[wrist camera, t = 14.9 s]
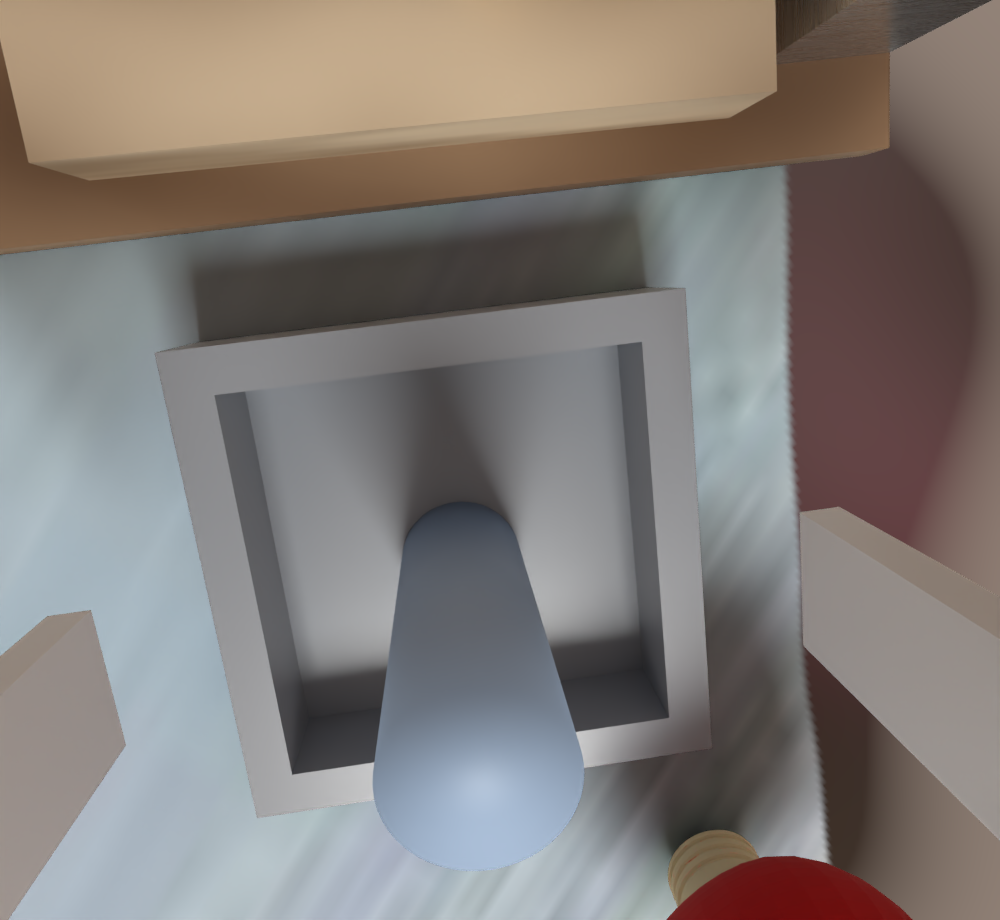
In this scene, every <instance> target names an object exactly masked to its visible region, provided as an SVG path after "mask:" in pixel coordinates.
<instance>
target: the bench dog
mask: <svg viewBox="0 0 1000 920" xmlns="http://www.w3.org/2000/svg"><path fill="white" fill-rule="evenodd" d="M989 1H991V0H775V10H776V64H777V65H778V64H787V63H796V62H806V61H815V60H824V59H833V58H843V57H852V56H861V55H871V54H880V53H889V52H891V51H893V50H895V49H897V48H899V47H901V46H903V45H905V44H907V43H909V42H911V41H913V40H915V39H917V38H919V37H921V36H923V35H925V34H927V33H928V32H931V31H932V30H934V29H936V28H939V27H941V26H942V25H944V24H946V23H948V22H950V21H952V20H954V19H956V18H958V17H960V16H962V15H964V14H966V13H968V12H970V11H972V10H974V9H976V8H978V7H980V6H982V5H984V4H986V3H987V2H989Z"/></svg>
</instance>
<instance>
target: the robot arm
mask: <svg viewBox="0 0 1000 920" xmlns="http://www.w3.org/2000/svg"><path fill="white" fill-rule="evenodd" d="M800 538H801V577H802V615H803V646H804V647H805V648H806V649H807V650H808V651H809V652H810V653H811V654H812V655H813V656H814V657H815V658H816V659H817V660H818V661H819V662H820V663H821V664H822V665H823V666H824V667H825V668H826V669H827V670H828V671H829V672H831V674H832V675H834V677H835V678H837V680H838V681H840V683H841V684H842V685H843V686H844V687H846V688H847V689H848V690H849V691H850V692H851V693H852V694H853V695H854V696H855V697H856V698H857V699H858V700H859V701H860V702H861V703H862V704H863V705H864V706H865V707H866V708H867V709H868V710H869V711H870V712H871V713H872V714H873V715H874V716H875V717H876V718H877V719H878V720H879V721H880V722H881V723H882V724H883V725H884V726H885V727H886V728H887V729H888V730H889V731H890V732H891V733H892V734H893V735H894V736H895V737H896V738H897V739H898V740H899V741H900V742H901V743H902V744H903V745H904V746H905V747H906V748H907V749H908V750H909V751H910V752H911V753H912V754H913V755H914V756H915V757H916V758H917V759H918V760H919V761H920V762H921V763H922V764H923V765H924V766H925V767H926V768H927V769H928V770H929V771H930V772H931V773H932V774H933V775H935V777H936V778H937V779H938V780H939V781H940V782H941V783H942V784H943V785H944V786H945V787H946V788H947V789H948V790H949V791H950V792H951V793H952V794H953V795H954V796H955V797H956V798H957V799H958V800H959V801H960V802H961V803H962V804H963V805H964V806H965V807H966V808H967V809H968V810H969V811H971V813H973V814H974V816H975V817H976V818H977V819H979V821H981V823H982V824H984V825H985V826H986V827H987V828H988V829H989V830H990V831H991V832H992V833H993V834H994V835H995V836H996V837H997V838H998V839H999V840H1000V597H999V596H998V595H996V594H994V593H992V592H991V591H989V590H987V589H985V588H983V587H982V586H980V585H978V584H976V583H974V582H973V581H971V580H969V579H967V578H966V577H964V576H962V575H960V574H958V573H957V572H955V571H953V570H951V569H949V568H947V567H946V566H944V565H942V564H940V563H939V562H937V561H935V560H933V559H931V558H930V557H928V556H926V555H924V554H923V553H921V552H919V551H917V550H915V549H914V548H912V547H910V546H908V545H906V544H905V543H903V542H901V541H899V540H897V539H896V538H894V537H892V536H890V535H889V534H886V533H885V532H883V531H881V530H880V529H878V528H876V527H874V526H872V525H871V524H869V523H867V522H865V521H863V520H862V519H860V518H858V517H856V516H854V515H853V514H851V513H849V512H847V511H846V510H844V509H842V508H840V507H836V508H828V509H821V510H814V511H806V512H800ZM125 746H126V744H125V740H124V736H123V732H122V728H121V724H120V721H119V717H118V713H117V709H116V705H115V701H114V698H113V694H112V690H111V686H110V682H109V678H108V674H107V671H106V667H105V663H104V659H103V655H102V651H101V648H100V644H99V640H98V636H97V632H96V628H95V625H94V621H93V617H92V613H91V610H89V611H82V612H74V613H67V614H60V615H53V616H47V617H46V618H45V619H43V620H42V621H41V622H40V623H39V624H38V625H36V626H35V627H34V628H33V629H32V630H31V631H29V632H28V633H27V634H26V635H25V636H24V637H22V638H21V639H20V640H19V641H18V642H17V643H15V644H14V645H13V646H12V647H11V648H10V649H8V650H7V651H6V652H5V653H4V654H3V655H1V656H0V920H8V919H9V918H10V916H11V915H12V913H13V912H14V910H15V909H16V907H17V906H18V904H19V903H20V901H21V900H22V899H23V897H24V896H25V894H26V893H27V891H28V890H29V888H30V887H31V885H32V884H33V882H34V881H35V879H36V878H37V876H38V875H39V873H40V872H41V870H42V869H43V867H44V866H45V864H46V863H47V861H48V860H49V858H50V857H51V856H52V854H53V853H54V851H55V850H56V848H57V847H58V845H59V844H60V842H61V841H62V839H63V838H64V836H65V835H66V833H67V832H68V830H69V829H70V827H71V826H72V824H73V823H74V821H75V820H76V818H77V817H78V815H79V814H80V812H81V811H82V810H83V808H84V807H85V805H86V804H87V802H88V801H89V799H90V798H91V796H92V795H93V793H94V792H95V790H96V789H97V787H98V786H99V784H100V783H101V781H102V780H103V778H104V777H105V775H106V774H107V772H108V771H109V769H110V768H111V767H112V765H113V764H114V762H115V761H116V759H117V758H118V756H119V755H120V753H121V752H122V750H123V749H124V747H125Z"/></svg>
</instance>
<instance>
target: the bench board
mask: <svg viewBox="0 0 1000 920" xmlns="http://www.w3.org/2000/svg"><path fill="white" fill-rule="evenodd" d="M889 55H890V52H889V53H880V54H871V55H861V56H852V57H843V58H833V59H824V60H815V61H806V62H796V63H787V64H778V65H777V91H776V92H774V93H773V94H771V95H769V96H767V97H765V98H764V99H762V100H760V101H758V102H757V103H755V104H753V105H751V106H750V107H748V108H746V109H744V110H742V111H741V112H739V113H737V114H735V115H734V116H732V117H730V118H726V119H715V120H705V121H695V122H685V123H674V124H664V125H654V126H644V127H633V128H623V129H613V130H603V131H592V132H582V133H572V134H562V135H551V136H541V137H531V138H521V139H510V140H500V141H490V142H480V143H469V144H459V145H449V146H439V147H428V148H418V149H408V150H398V151H387V152H377V153H367V154H357V155H347V156H336V157H326V158H316V159H306V160H295V161H285V162H275V163H265V164H254V165H244V166H234V167H224V168H213V169H203V170H193V171H183V172H172V173H162V174H152V175H142V176H131V177H121V178H111V179H101V180H90V181H89V180H86V179H82V178H79V177H75V176H72V175H68V174H65V173H62V172H58V171H55V170H51V169H48V168H45V167H41V166H38V165H34V164H31V163H29V162H28V158H27V153H26V149H25V145H24V141H23V136H22V132H21V128H20V123H19V119H18V115H17V110H16V106H15V102H14V98H13V93H12V89H11V85H10V80H9V76H8V72H7V67H6V63H5V59H4V55H3V50H2V46H1V42H0V255H2V254H10V253H19V252H28V251H37V250H45V249H54V248H63V247H72V246H80V245H89V244H98V243H106V242H115V241H124V240H133V239H141V238H150V237H159V236H168V235H176V234H185V233H194V232H203V231H211V230H220V229H229V228H238V227H246V226H255V225H264V224H272V223H281V222H290V221H299V220H307V219H316V218H325V217H334V216H342V215H351V214H360V213H369V212H377V211H386V210H395V209H404V208H412V207H421V206H430V205H438V204H447V203H456V202H465V201H473V200H482V199H491V198H500V197H508V196H517V195H526V194H535V193H543V192H552V191H561V190H570V189H578V188H587V187H596V186H604V185H613V184H622V183H631V182H639V181H648V180H657V179H666V178H674V177H683V176H692V175H701V174H709V173H718V172H727V171H736V170H744V169H753V168H762V167H770V166H779V165H788V164H796V163H805V162H814V161H823V160H831V159H840V158H849V157H858V156H863V155H867V154H870V153H873V152H876V151H880V150H883V149H887V148H889V86H890V84H889V83H890V79H889V77H890V76H889V75H890V66H889V65H890V59H889V58H890V56H889Z"/></svg>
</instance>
